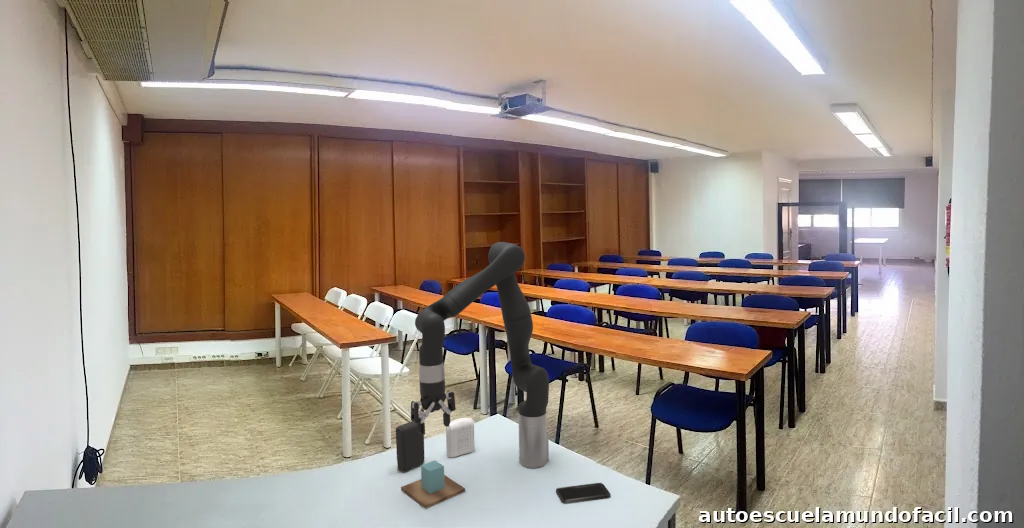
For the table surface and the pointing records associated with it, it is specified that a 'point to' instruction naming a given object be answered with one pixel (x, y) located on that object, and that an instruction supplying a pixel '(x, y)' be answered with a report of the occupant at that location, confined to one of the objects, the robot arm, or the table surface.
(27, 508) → the table surface
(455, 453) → the photo printer
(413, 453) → the card reader
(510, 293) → the robot arm
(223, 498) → the table surface
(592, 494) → the phone
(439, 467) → the teal block
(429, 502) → the walnut board
